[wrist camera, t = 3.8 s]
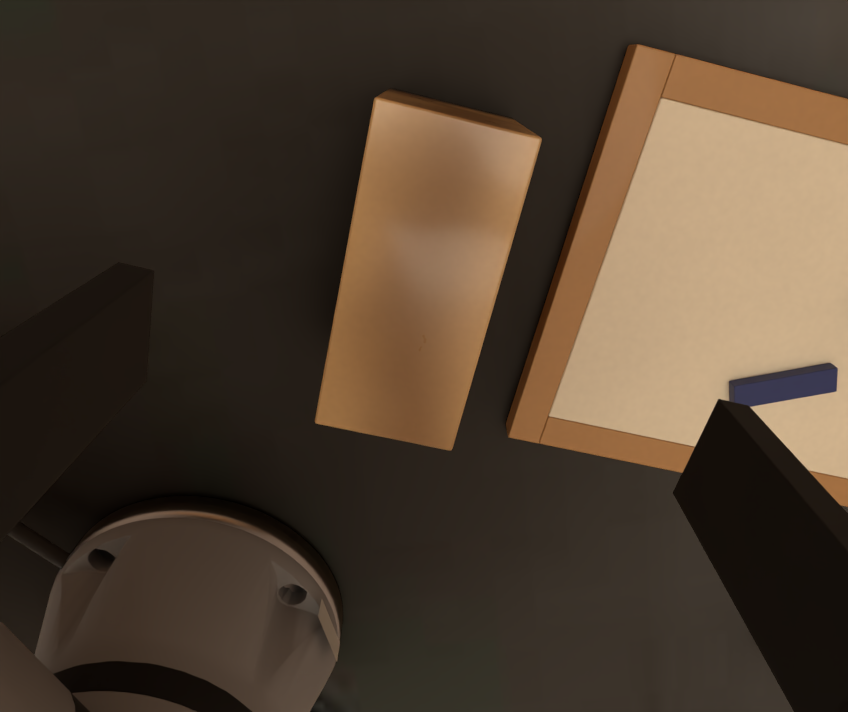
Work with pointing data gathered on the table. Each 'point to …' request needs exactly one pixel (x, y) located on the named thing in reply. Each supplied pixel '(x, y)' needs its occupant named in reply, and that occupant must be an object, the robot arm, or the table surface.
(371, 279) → the eraser
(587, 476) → the table surface
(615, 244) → the board
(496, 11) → the table surface
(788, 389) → the stroke
